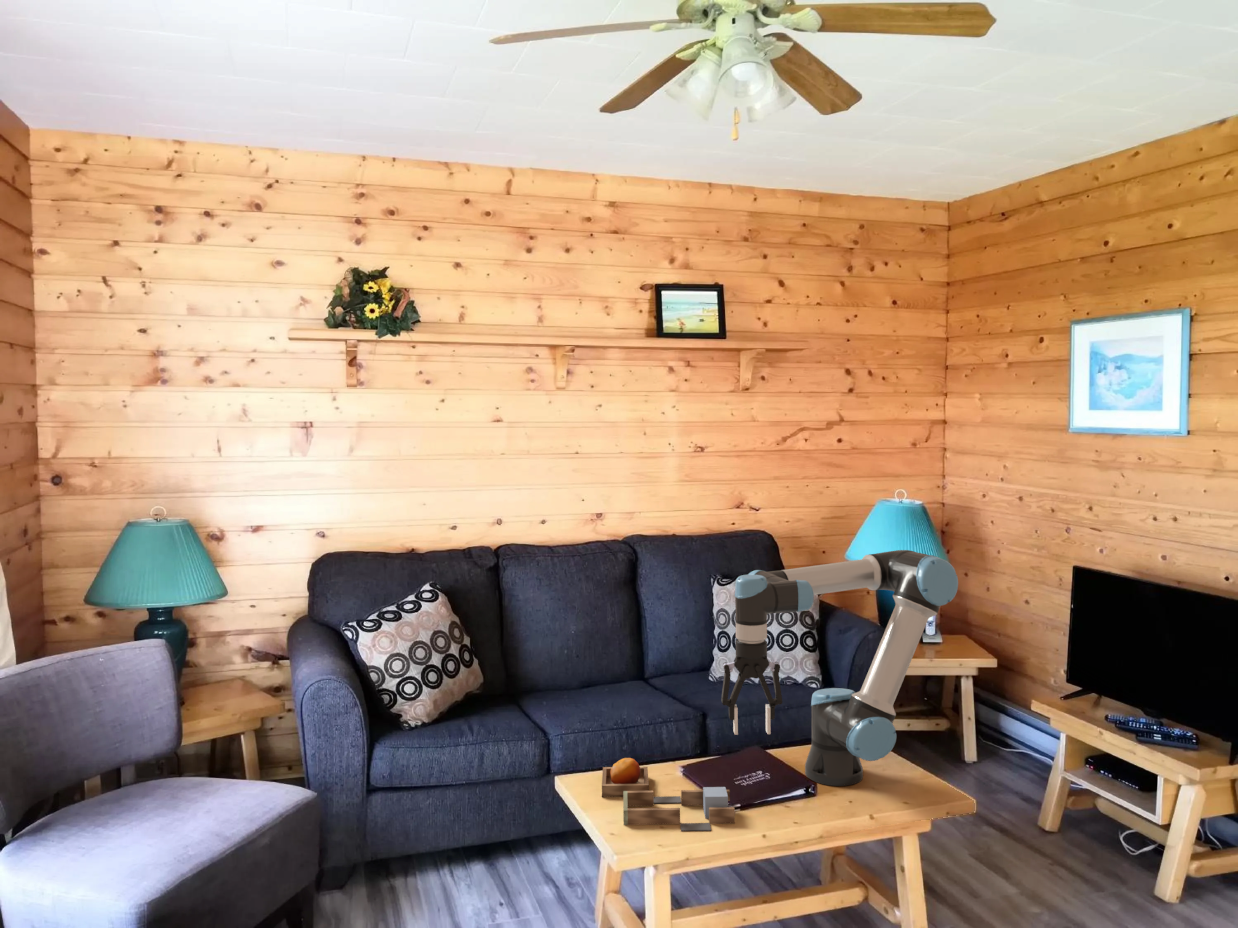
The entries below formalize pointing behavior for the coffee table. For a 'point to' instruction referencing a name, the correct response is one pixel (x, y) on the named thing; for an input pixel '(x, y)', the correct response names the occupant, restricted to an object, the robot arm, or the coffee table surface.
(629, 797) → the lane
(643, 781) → the tray
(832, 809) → the coffee table surface
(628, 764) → the fruit
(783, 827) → the coffee table surface
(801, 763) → the coffee table surface
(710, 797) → the block
